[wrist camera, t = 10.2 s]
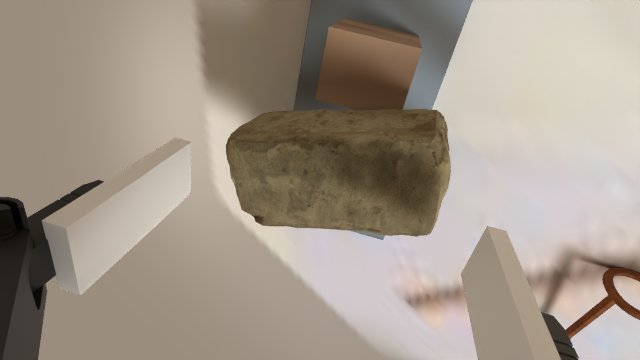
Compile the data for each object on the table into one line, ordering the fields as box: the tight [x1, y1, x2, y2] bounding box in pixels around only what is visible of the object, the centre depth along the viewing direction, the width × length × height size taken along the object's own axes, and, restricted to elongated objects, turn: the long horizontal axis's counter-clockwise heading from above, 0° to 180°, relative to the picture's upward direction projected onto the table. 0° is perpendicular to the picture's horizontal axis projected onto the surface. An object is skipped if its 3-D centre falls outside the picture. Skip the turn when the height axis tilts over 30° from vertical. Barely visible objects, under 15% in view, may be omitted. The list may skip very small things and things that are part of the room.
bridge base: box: [294, 0, 473, 240], centre depth 24 cm, size 22×10×7 cm, turn 169°
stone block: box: [226, 109, 451, 236], centre depth 19 cm, size 6×12×5 cm, turn 95°
